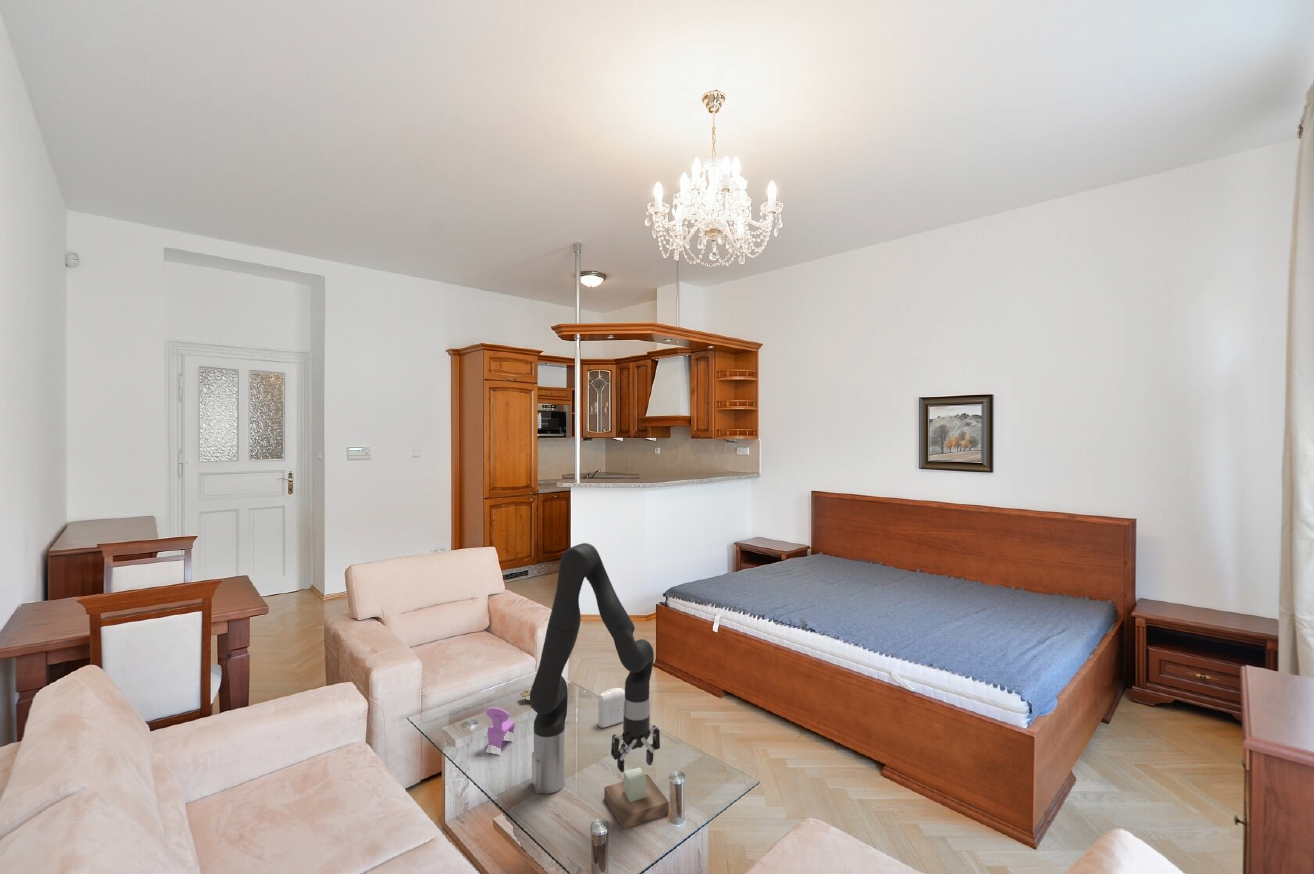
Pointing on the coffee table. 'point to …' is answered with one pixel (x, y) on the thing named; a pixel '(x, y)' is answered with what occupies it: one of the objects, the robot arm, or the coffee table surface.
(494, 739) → the toy chair
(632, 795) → the sage block
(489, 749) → the coffee table surface
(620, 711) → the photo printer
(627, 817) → the walnut block
